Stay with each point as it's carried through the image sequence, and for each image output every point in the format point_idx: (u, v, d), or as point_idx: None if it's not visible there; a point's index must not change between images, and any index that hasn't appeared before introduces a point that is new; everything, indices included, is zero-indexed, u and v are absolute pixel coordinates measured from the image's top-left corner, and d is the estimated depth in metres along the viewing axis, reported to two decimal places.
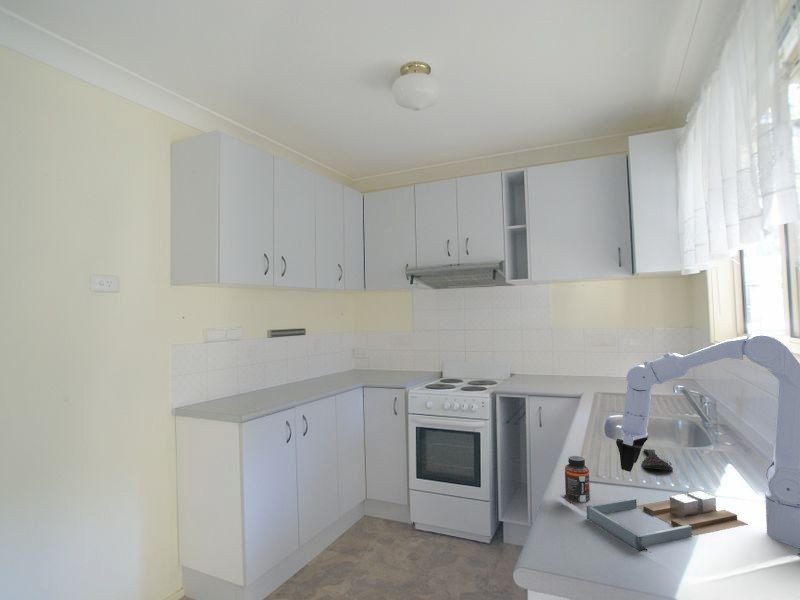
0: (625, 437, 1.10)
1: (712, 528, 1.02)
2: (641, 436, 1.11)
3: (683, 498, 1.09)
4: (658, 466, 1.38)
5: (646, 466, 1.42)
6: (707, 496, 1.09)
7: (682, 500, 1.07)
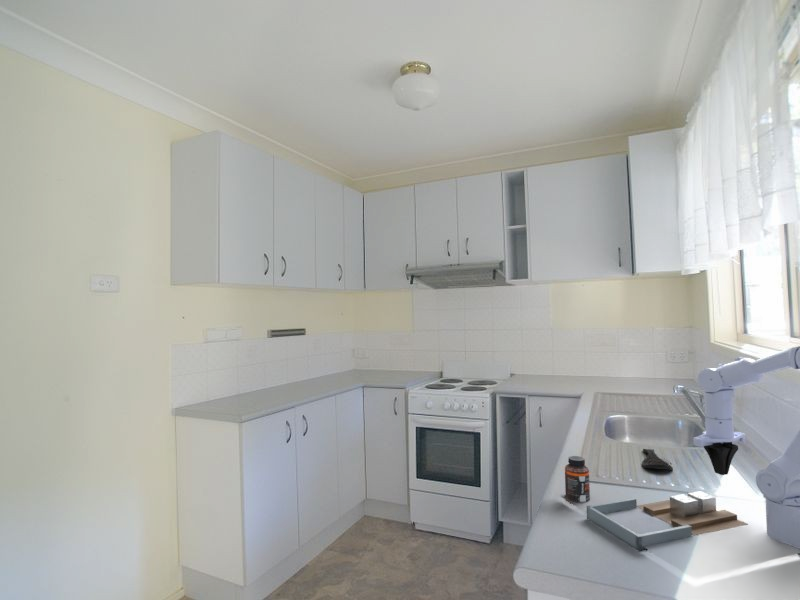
0: (694, 439, 1.11)
1: (712, 528, 1.02)
2: (719, 440, 1.10)
3: (683, 498, 1.09)
4: (658, 466, 1.39)
5: (646, 466, 1.42)
6: (707, 496, 1.09)
7: (682, 500, 1.07)
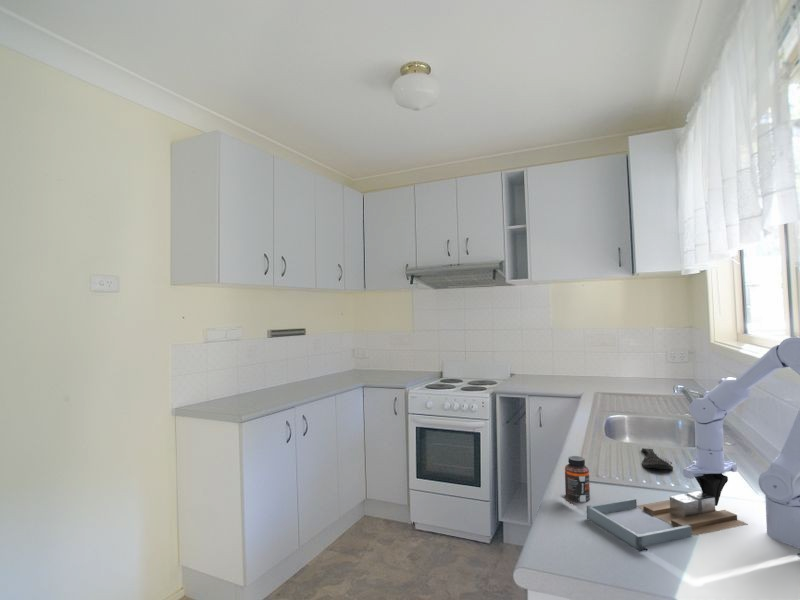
0: (684, 469, 1.10)
1: (712, 528, 1.02)
2: (709, 471, 1.08)
3: (683, 498, 1.09)
4: (659, 465, 1.39)
5: (647, 466, 1.42)
6: (706, 496, 1.09)
7: (682, 500, 1.07)
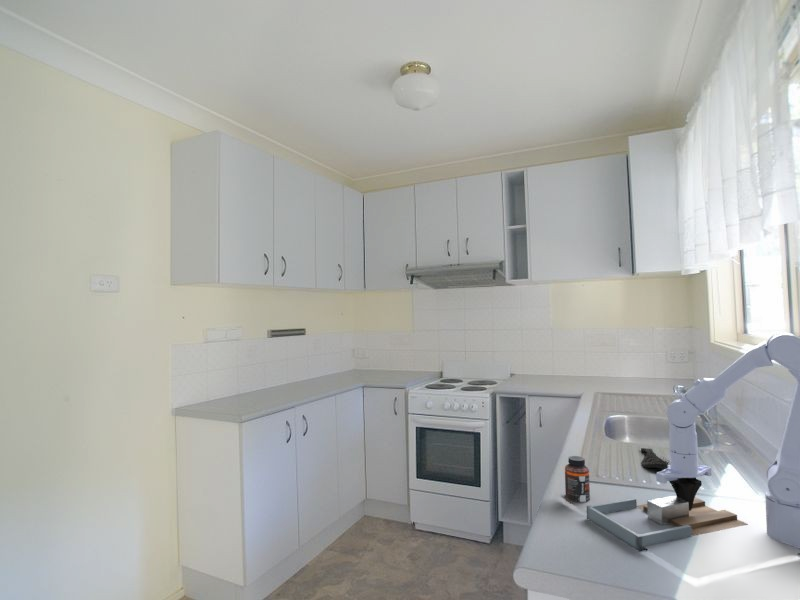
0: (657, 474, 1.07)
1: (712, 528, 1.02)
2: (682, 475, 1.06)
3: (661, 502, 1.07)
4: (659, 465, 1.39)
5: (647, 465, 1.42)
6: (680, 501, 1.07)
7: (660, 504, 1.05)
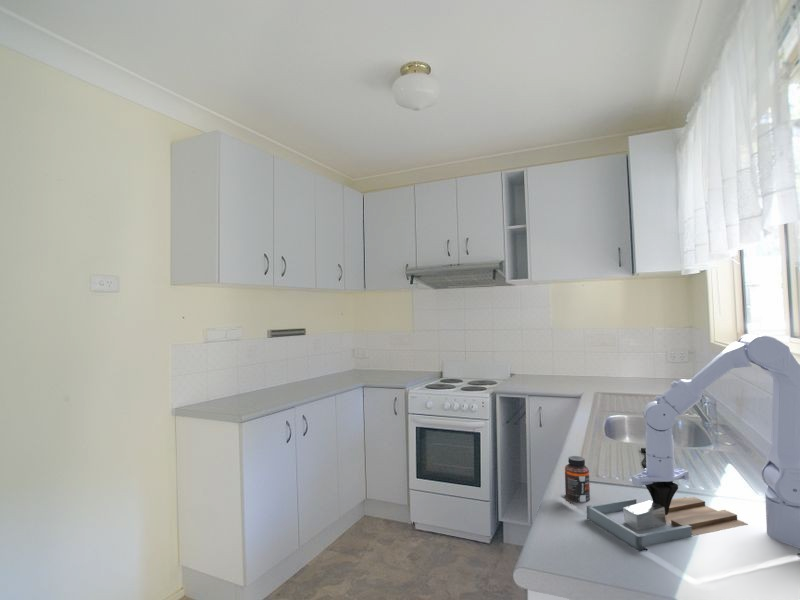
0: (633, 477, 1.05)
1: (712, 528, 1.02)
2: (658, 479, 1.04)
3: (636, 509, 1.04)
4: None
5: None
6: (655, 506, 1.05)
7: (635, 512, 1.03)
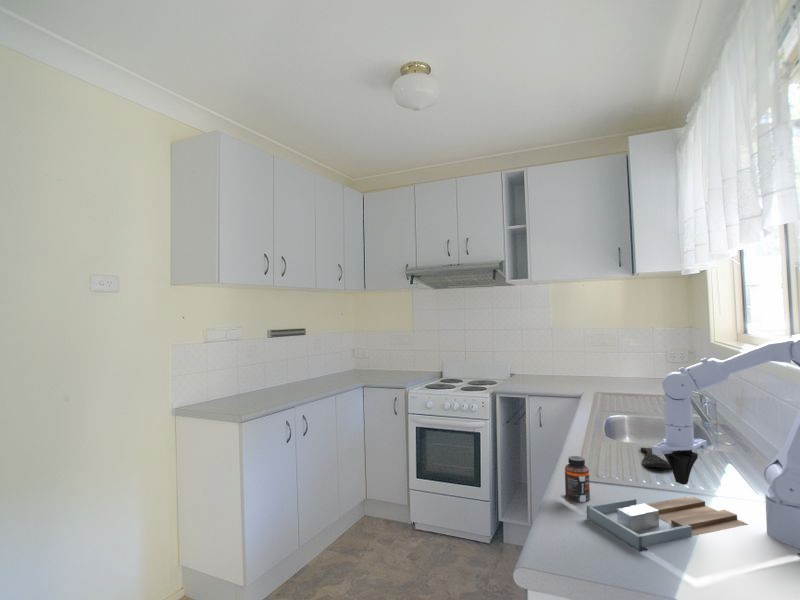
0: (653, 447, 1.06)
1: (712, 528, 1.02)
2: (678, 448, 1.05)
3: (630, 511, 1.04)
4: (660, 464, 1.40)
5: (647, 465, 1.43)
6: (649, 509, 1.05)
7: (629, 513, 1.03)
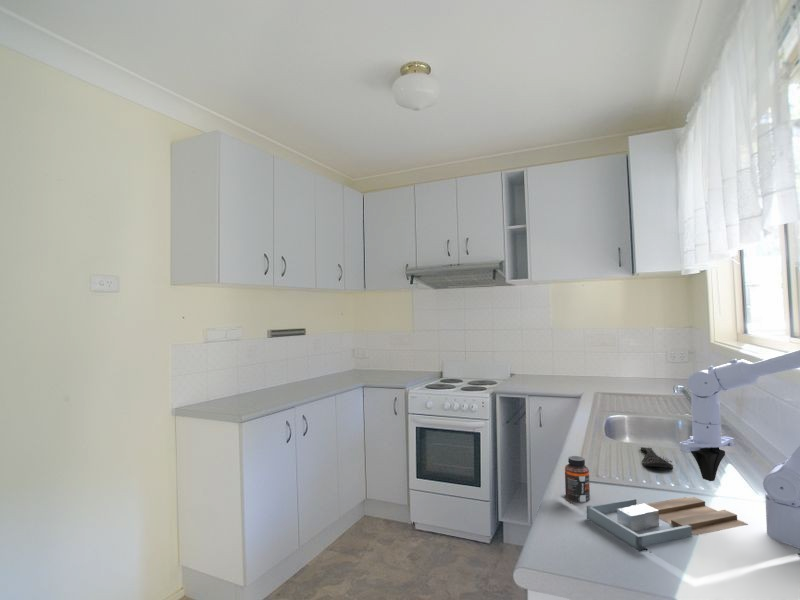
0: (680, 444, 1.07)
1: (712, 528, 1.02)
2: (706, 445, 1.06)
3: (630, 511, 1.04)
4: (660, 464, 1.40)
5: (647, 464, 1.43)
6: (649, 509, 1.05)
7: (629, 513, 1.03)
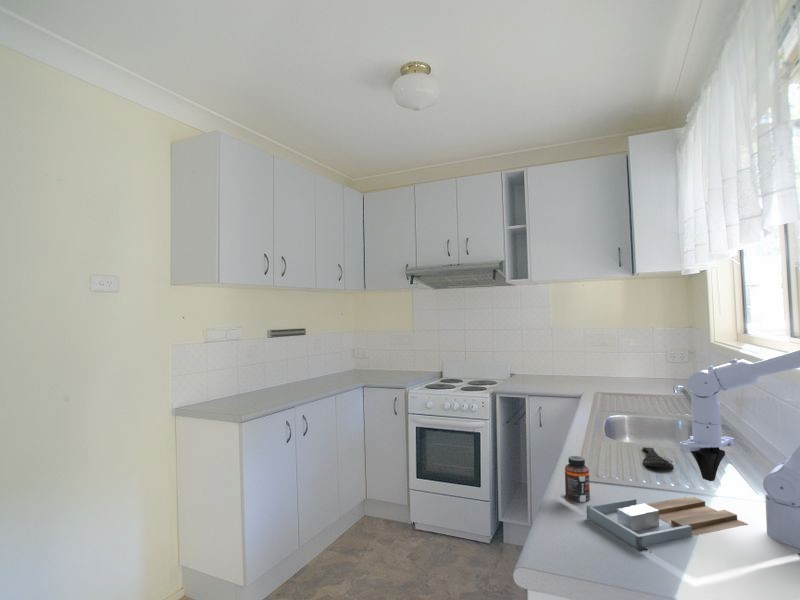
0: (680, 444, 1.07)
1: (712, 528, 1.02)
2: (706, 445, 1.06)
3: (630, 511, 1.04)
4: (660, 464, 1.40)
5: (648, 464, 1.43)
6: (649, 509, 1.05)
7: (629, 513, 1.03)
